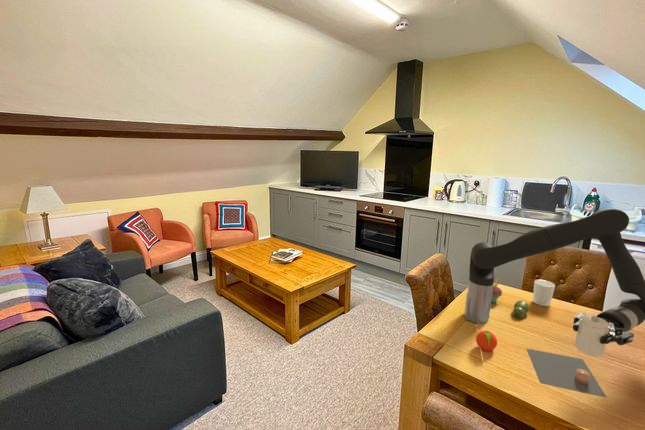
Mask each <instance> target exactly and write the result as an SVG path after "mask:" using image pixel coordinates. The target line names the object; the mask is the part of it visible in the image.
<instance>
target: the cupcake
mask: <svg viewBox="0 0 645 430" xmlns="http://www.w3.org/2000/svg"><path fill="white" fill-rule="evenodd" d="M499 280H500V277H497V278H496V282H495V283H494V284H493V291H492V299H491V303H495V302H497V301H498V299H499V298H500V297H501V296H502V294H503V291H502V289H501V288H500V287H498V286H497V285H498V284H499V283H498V281H499Z"/></svg>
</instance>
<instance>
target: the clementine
mask: <svg viewBox="0 0 645 430" xmlns="http://www.w3.org/2000/svg"><path fill="white" fill-rule="evenodd" d="M475 342H476V345H477V347H478V348H480V349H481V350H483V351H486V352H490V351H493V350H495V349H496V347H497V345H498V340H497V337H496V336H495V334H494V333H493V332H491V331H490V330H489V331H488V330H481V331H478V333H477V334H476V337H475Z"/></svg>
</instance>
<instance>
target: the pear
mask: <svg viewBox="0 0 645 430" xmlns="http://www.w3.org/2000/svg"><path fill="white" fill-rule="evenodd" d="M512 310H513V311H512V313H511V314H512V317H514V318H516V319H521V320H522V319H524V318H525V316H526V315H525V314H528V312H529V311H530V305H529V304H528V302H526V301H524V300H518V301H516V302H515V303H514V305H513V309H512Z"/></svg>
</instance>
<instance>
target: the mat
mask: <svg viewBox="0 0 645 430" xmlns="http://www.w3.org/2000/svg"><path fill="white" fill-rule="evenodd" d="M525 349H526V351H527V354H528V356H529V358H530V361H531V363H532V366H533V368H534V370H535V374H536V376H537V379H538V381H539V383H540V384H544V385H548V386H553V387H557V388H562V389H567V390H571V391H574V392H575V391H576V392H581V393H584V394H585V393H586V394H589V395H594V396H598V397H604V398H607V395H606V393H605V392H604V390H603V389H602V387H601V385H600V384H599V382H598V381H597V380H596V378H595V376H594V375H593V373H592V372H591V370H590V369H589V367H588V365H587V363H586V362H585V360H584V359H583V358H579V357H573V356H569V355H563V354H557V353H552V352H547V351H544V350H543V351H541V350H537V349H532V348H525ZM577 369H583V370H585V371H587V372H588V373H589V374H590V378H589V382H588V384H587V385H584V384H580V383H578V382H577V381H576V380H575V374H576V370H577Z"/></svg>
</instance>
